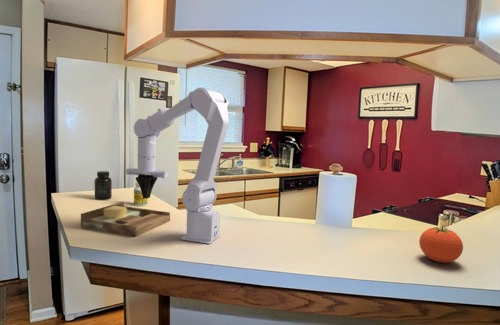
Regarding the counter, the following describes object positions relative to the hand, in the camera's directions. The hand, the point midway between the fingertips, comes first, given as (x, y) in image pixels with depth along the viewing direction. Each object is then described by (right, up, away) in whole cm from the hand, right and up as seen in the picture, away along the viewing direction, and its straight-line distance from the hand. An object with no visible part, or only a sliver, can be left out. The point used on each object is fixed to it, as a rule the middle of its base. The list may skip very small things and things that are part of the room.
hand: (146, 197), depth 106 cm
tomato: (+86, -15, -18) cm, 89 cm away
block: (-11, -7, +3) cm, 14 cm away
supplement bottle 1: (-31, -5, +36) cm, 48 cm away
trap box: (-7, -9, +2) cm, 11 cm away
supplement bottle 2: (-12, -6, +28) cm, 31 cm away
